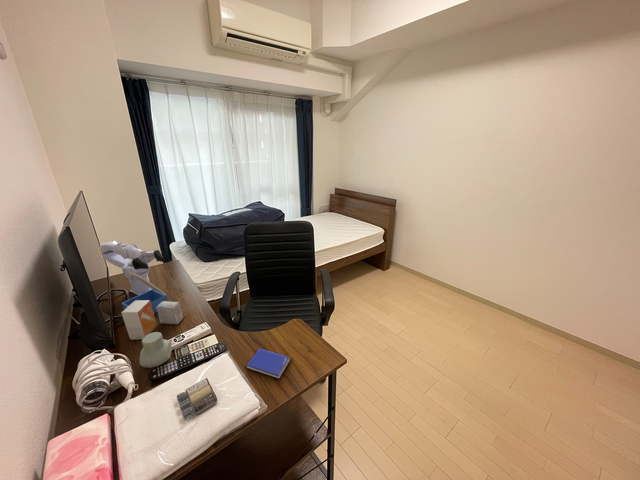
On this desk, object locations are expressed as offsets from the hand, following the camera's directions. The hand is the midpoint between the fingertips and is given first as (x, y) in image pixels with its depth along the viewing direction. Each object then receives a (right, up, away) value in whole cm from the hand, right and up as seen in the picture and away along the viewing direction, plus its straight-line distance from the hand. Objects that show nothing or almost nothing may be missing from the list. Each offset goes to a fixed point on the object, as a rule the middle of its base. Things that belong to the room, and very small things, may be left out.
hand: (155, 263), depth 116 cm
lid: (-3, -9, -1) cm, 10 cm away
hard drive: (+58, -33, -28) cm, 72 cm away
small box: (+4, -27, -13) cm, 31 cm away
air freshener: (+18, -32, -26) cm, 45 cm away
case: (-5, -22, +1) cm, 22 cm away
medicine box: (+11, -25, -6) cm, 28 cm away
